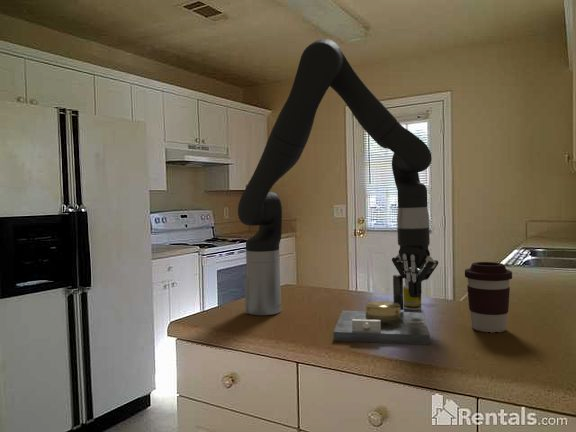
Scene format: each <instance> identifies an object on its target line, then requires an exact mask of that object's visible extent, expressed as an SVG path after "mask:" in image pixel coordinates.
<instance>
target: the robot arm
mask: <svg viewBox="0 0 576 432" xmlns="http://www.w3.org/2000/svg"><path fill="white" fill-rule="evenodd" d="M302 51H303V52H302V54H301V56H300V58H299V63H298V66H297V70H296V73H295V76H294V81H293V83H292V86H291V90H290V92H289V94H288V97H287V99H286V101H285V103H284V105H283V106H282V108H281V110H280V112H279V114H278V116H277V118H276V120H275V122H274V124H273V126H272V128H271V131H270V134H269V136H268V139H267V141H266V144H265V147H264V148H263V149H264V150H263V152H262V154H261V156H260V159H259V162H258V164H257V165H256V168H255V170H254V171H253V174H252V176H251V178H250V180H249V181H248V183H247V185H246V187H245V188H244V190H243V193H242V194H241V196H240V200H239V201H238V206H237V216H238V219H239V221H240V223H241V224H243V225H246V226H250V227H251V226H252V227H255V226H259V227H258V231H257V232H256V233H255V234H254V235H253V236H251V237H250V238H248V239H247V240H246V242H245V260H246V261H245V263H246V265H245V266H246V277H245V278H244V280H243V281H244V306H245V307H244V311H245V313H244V314H246V315H247V314H249V315H252V316H271V315H272V316H273V315H276V314H280V313H281V311H282V299H281V298H282V297H281V296H282V295H281V293H282V292H281V265H280V263H281V261H280V243H281V239H282V233H283V232H282V230H283V229H282V228H283V227H282V225H283V222H282V221H283V208H282V207H283V205H282V201H281V198H280V197H279V195H278V194H277V193H276V192H274V191H271V189H272V188H273V186H275V184H276V183H277V182H278V181H279V180H280V179H281V178H282V177H283V176H285V175H286V174H287V173H288V172H289V171H290V170H291V169H292V168H294V166H295V165H296V164H297V163H298V161H299V159H300V158H301V156H302V154H303V152H304V150H305V147H306V145H307V144H308V141H309V138H310V135H311V132H312V129H313V125H314V121H315V117H316V114H317V111H318V109H319V106H320V104H321V103H322V100H323V98H324V96H325V95H326V93H327V91H328V89H329V88H331V89H332V90H333V91H334V92H335V93H336V94H337V95H338V96H339V97H340V98H341V99H342V100H343V101H344V104H346V106H347V107H348V108H349V110H350V111H351V113H352V115H353V117H354V118H355V119H356V121H357V122H358V124H359V125H360V127H362V129H364V131H365V132H366V133H367V134H368V135H369V136H370V138H371V139H372V140H373V141H375V143H376V144H377V145H378V146H379V147H381V148H383V149H388V150H390V151H392V153H393V154H392V158H391V170H392V174H393V178H394V179H393V180H394V184H395V187H396V191H397V214H396V220H397V221H396V222H397V223H396V225H397V227H396V228H397V229H396V231H397V244H398V246H399V250H398V254H397V255H396V256H395V257H392V258H391V261H392V264H393V265H394V267H395V269H396V271H397V272H398V275H400V276H401V277H402V278H403V279H404V280H405V279H407V281H408V287H409V294H410V297H414V298H417V297H420V295H421V296H422V290H423V289H422V282H423V281H426V280H429V279H430V277H431V276H432V274H433V273H434V271H435V270H436V269H437V267H438V265H439V261H438V260H437V259H434V258H432V256H431V252H430V250H429V246H430V243H431V242H430V214H429V208H428V206H429V205H428V189H427V186H426V185H425V184H424V183H422V182H421V181H420V176H419V173H421V172H423V171H426V170H427V169H429V167H430V165H431V163H432V159H433V158H432V152H431V149H430V148H429V147H428V145H427V144H426V143H425V142H424V141H423V139H420V138H419V137H418V136H417V135H416V134H414V133H413V132H412V131H410V130H409V129H407V128H405V127H404V126H403V125H402V124H401V123H400V121H398V119H397V118H396V117H395V115H393V114H392V112H390V110H388V109H387V107H386V106H385V105H384V104H383V103H382V102H381V101H380V100H379V99H378V98H377V96H375V94H374V93H373V92H372V91H371V90H370V89H369V88H368V86H366V84H365V83H364V82H363V80H362V79H361V78H360V77H359V75H358V74H357V73H356V72H355V70H354V68H353V66H352V65H351V64H350V62H349V61H348V59H347V57H346V56H345V55H344V53H343V51H342V49H341V48H340V46H339V45H338V44H337V43H336V42H334V40H331V39H328V38H327V39H326V38H321V39H318V40H314V41H313V42H311V43H310V44H308V46H306V47H305V49H304V50H302Z"/></svg>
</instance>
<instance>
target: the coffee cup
mask: <svg viewBox="0 0 576 432" xmlns="http://www.w3.org/2000/svg"><path fill="white" fill-rule="evenodd" d="M464 277H465V278H467V288H466V289H467V299H468V300H467V301H468V309H469V311H470V312H469V313H470V323H471V327H472V329H474V330H476V331H478V332H483V333H488V332H490V333H491V334H493V333H494V334H495V332H498V333H503V332H505V331H507V324H508V323H507V322H508V321H507V320H508V313H509V309H510V307H509V304H510V291H511V290H510V289H511V287H510V280H512V279H513V271H512V270H510V269H507V268H506V266H505V264H504V263H502V262H501V263H500V262H494V261H476V262H473V263H471V266H470V267H469V268H466V269H464Z"/></svg>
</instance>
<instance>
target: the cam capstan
mask: <svg viewBox="0 0 576 432" xmlns="http://www.w3.org/2000/svg"><path fill="white" fill-rule="evenodd" d="M403 286H404V278H402V277H401V276H400V274H394V275H392V292H393V299H392V300H393V301H392V302H391V301H381V300H379V301H371V302H368V303H366V304H365V308H364V309H365V311H366V319H367V320H381V323H389V322H396V321H399V320H400V319H401V312H402V310H404V295H403Z"/></svg>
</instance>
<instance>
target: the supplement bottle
mask: <svg viewBox="0 0 576 432" xmlns="http://www.w3.org/2000/svg"><path fill="white" fill-rule="evenodd" d="M403 309H405V310H408V311H420V310H421V309H422V294H421V295H420V297H417V298H414V297H410V294H409V287H408V281H407V279H405V278H404V284H403Z"/></svg>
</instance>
